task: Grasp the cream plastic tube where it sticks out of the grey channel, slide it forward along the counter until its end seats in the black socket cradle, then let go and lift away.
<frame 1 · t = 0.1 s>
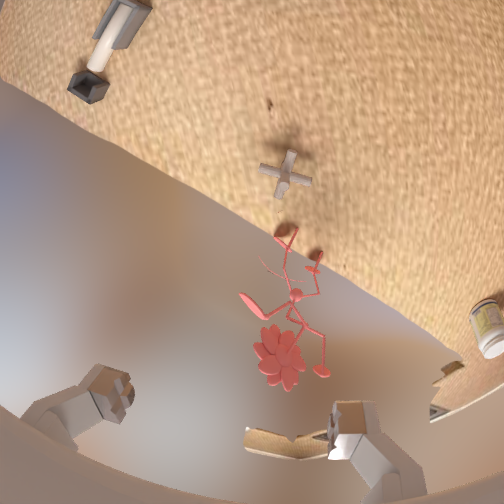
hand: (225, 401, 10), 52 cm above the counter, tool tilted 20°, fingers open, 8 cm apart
sleeve: (127, 22, 40), on the counter
slip tube: (110, 36, 40), point 3 cm above the counter, slide at 0.0 cm
pipe connector: (286, 164, 58), on the counter
supplement tub: (482, 309, 75), on the counter
figurine: (288, 253, 72), on the counter
socket: (94, 84, 50), on the counter
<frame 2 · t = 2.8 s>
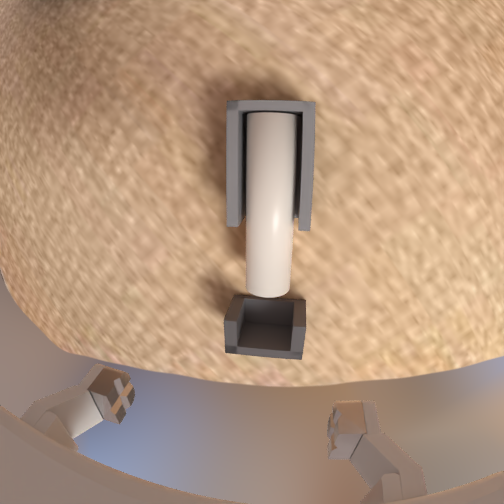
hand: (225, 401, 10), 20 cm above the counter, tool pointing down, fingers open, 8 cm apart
sleeve: (274, 161, 26), on the counter
slip tube: (270, 205, 24), point 3 cm above the counter, slide at 0.0 cm
socket: (269, 313, 32), on the counter
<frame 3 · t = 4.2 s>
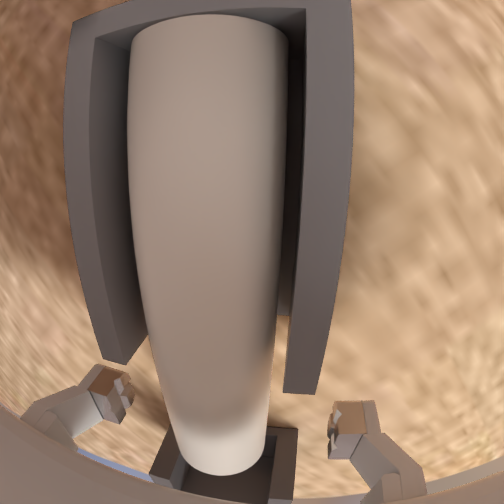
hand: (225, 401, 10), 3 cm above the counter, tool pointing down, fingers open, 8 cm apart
sleeve: (232, 176, 11), on the counter
slip tube: (210, 308, 9), point 3 cm above the counter, slide at 0.0 cm
socket: (235, 438, 16), on the counter
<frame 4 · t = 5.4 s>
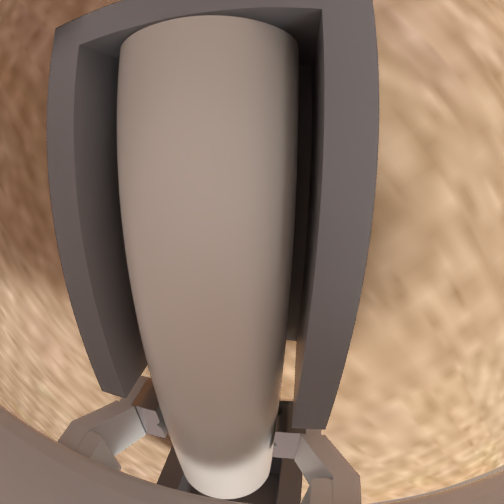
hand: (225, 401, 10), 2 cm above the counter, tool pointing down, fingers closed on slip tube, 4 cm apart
sleeve: (235, 194, 10), on the counter
slip tube: (213, 339, 8), point 3 cm above the counter, slide at 0.0 cm, touching gripper
socket: (240, 456, 16), on the counter
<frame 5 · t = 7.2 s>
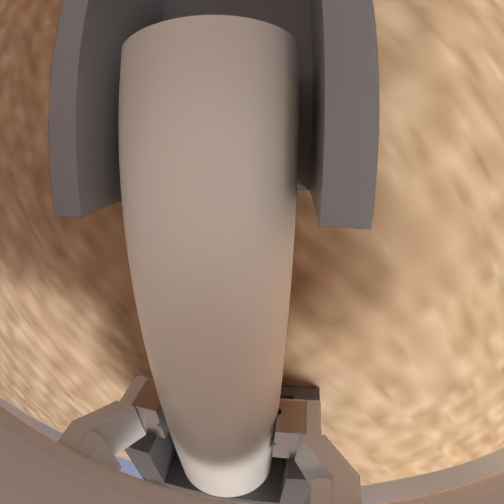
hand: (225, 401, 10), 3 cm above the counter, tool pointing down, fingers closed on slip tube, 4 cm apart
sleeve: (238, 42, 8), on the counter
slip tube: (214, 337, 8), point 3 cm above the counter, slide at 5.3 cm, touching gripper
socket: (239, 406, 14), on the counter
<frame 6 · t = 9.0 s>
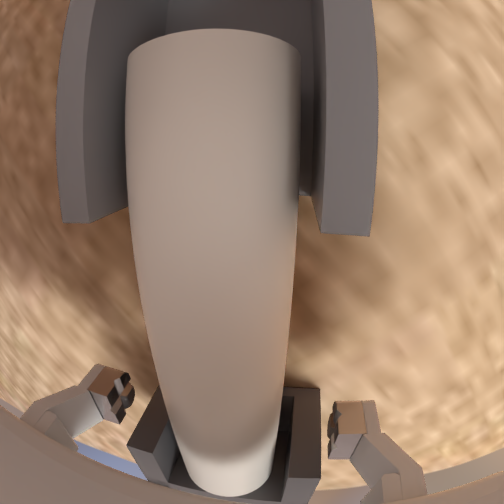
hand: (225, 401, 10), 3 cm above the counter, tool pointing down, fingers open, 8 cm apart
sleeve: (240, 50, 8), on the counter
slip tube: (218, 340, 8), point 3 cm above the counter, slide at 5.4 cm
socket: (241, 407, 14), on the counter
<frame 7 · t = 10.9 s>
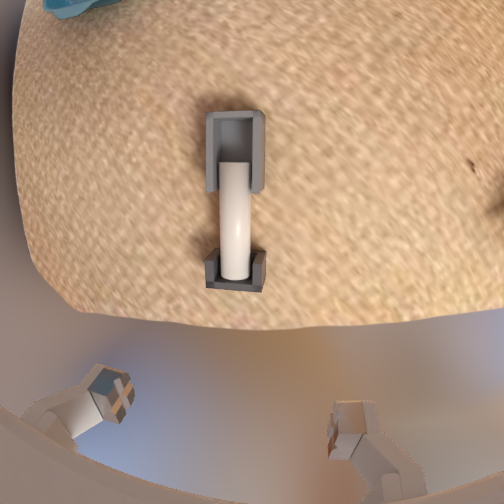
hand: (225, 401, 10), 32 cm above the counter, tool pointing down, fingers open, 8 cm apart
sleeve: (240, 151, 38), on the counter
slip tube: (235, 220, 38), point 3 cm above the counter, slide at 5.4 cm
socket: (240, 263, 44), on the counter
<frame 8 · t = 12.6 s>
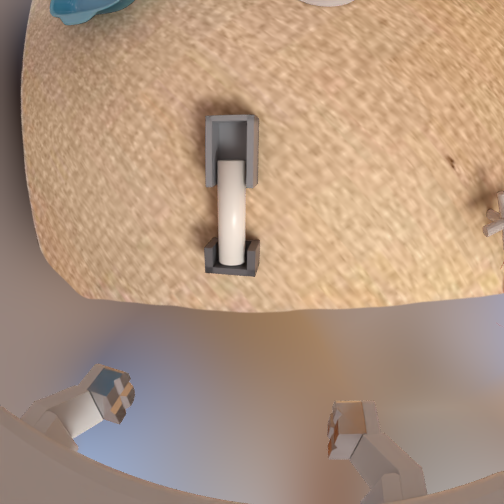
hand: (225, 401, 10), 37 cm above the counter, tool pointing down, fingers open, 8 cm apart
sleeve: (236, 150, 43), on the counter
slip tube: (231, 212, 43), point 3 cm above the counter, slide at 5.4 cm
pipe connector: (489, 214, 39), on the counter
socket: (236, 250, 48), on the counter
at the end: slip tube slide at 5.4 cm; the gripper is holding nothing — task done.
